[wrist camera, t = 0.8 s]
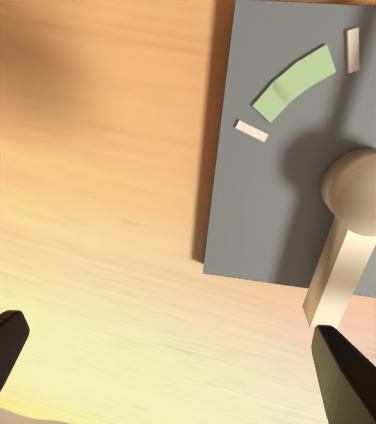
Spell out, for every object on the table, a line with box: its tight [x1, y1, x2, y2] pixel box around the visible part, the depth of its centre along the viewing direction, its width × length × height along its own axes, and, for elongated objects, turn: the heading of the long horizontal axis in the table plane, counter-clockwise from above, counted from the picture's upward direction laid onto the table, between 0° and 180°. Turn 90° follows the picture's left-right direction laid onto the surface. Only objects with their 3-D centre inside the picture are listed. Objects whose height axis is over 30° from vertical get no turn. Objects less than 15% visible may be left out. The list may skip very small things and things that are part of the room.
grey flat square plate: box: [203, 0, 376, 298], centre depth 17 cm, size 18×18×1 cm
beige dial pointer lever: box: [303, 149, 376, 329], centre depth 16 cm, size 19×4×3 cm, turn 176°
